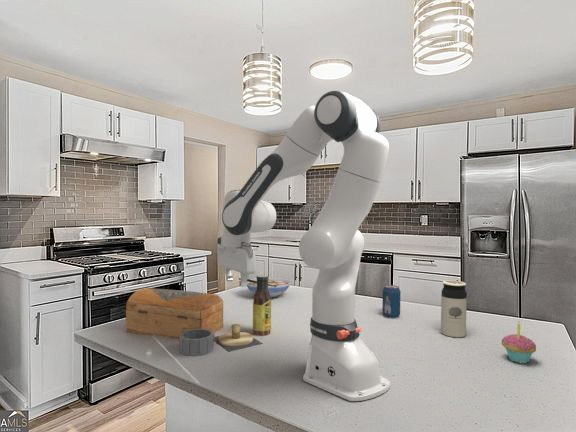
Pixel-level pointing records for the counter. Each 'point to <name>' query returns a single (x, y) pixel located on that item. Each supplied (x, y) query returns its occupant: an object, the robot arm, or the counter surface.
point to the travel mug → (453, 309)
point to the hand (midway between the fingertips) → (235, 283)
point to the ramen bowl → (270, 285)
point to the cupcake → (518, 347)
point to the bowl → (196, 342)
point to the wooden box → (172, 312)
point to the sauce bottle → (262, 307)
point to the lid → (235, 338)
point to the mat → (254, 343)
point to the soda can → (391, 301)
